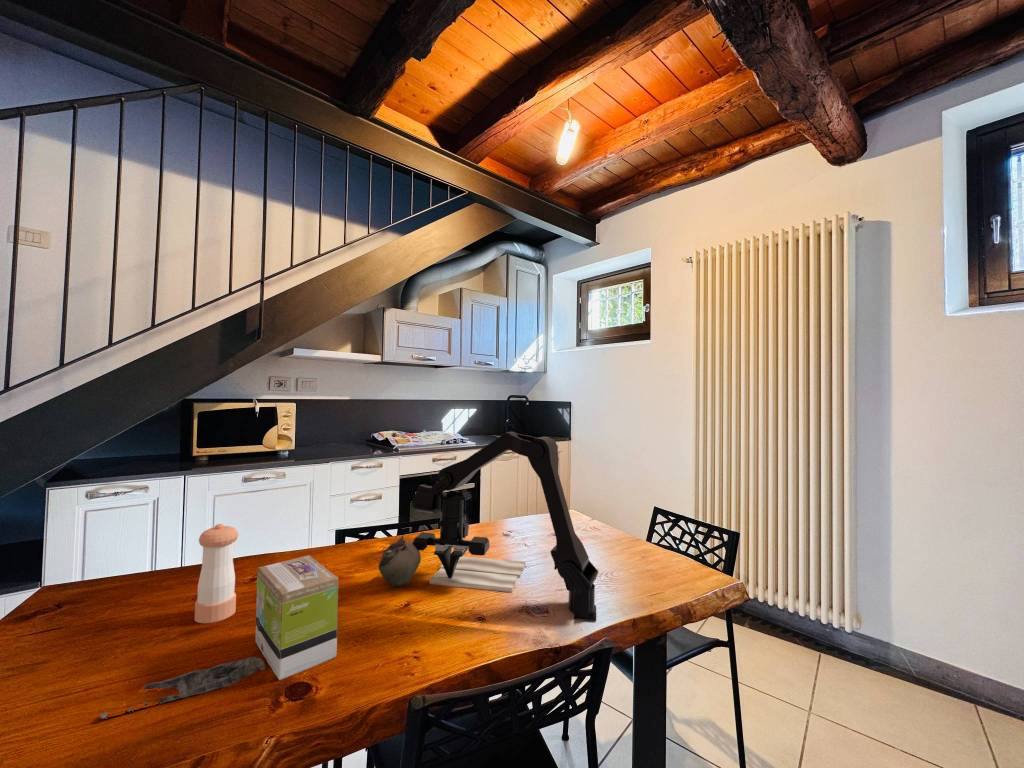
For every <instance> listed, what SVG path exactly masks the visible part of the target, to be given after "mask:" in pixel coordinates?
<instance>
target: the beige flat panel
mask: <svg viewBox="0 0 1024 768" xmlns="http://www.w3.org/2000/svg"><path fill="white" fill-rule="evenodd" d="M525 566H526V561H521V560H520V561H519V560H509V559H508V560H507V559H499V558H498V559H496V558H485V557H474V556H473V557H472V556H464V555H463V556H462V557H460V558H459V560H458V563H457V566H456V569H455V570H463V571H474V572H484V573H495V574H505V575H515V576H518V578H522V577H521V576H522V575H523V571H524V568H525ZM440 568H442V569H444V567H443V564H442V563H441V565H440V566H439V569H440Z"/></svg>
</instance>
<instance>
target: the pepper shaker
mask: <svg viewBox="0 0 1024 768" xmlns="http://www.w3.org/2000/svg"><path fill="white" fill-rule="evenodd" d="M238 536H239V533H238V530H237V529H236V528H235V527H232V526H228V525H224V524H223V523H217V524H216V525H214V526H213V527H211V528H208V529H206V530H204V531H203V532H202V533H201V534H200V536H199V538H198V543H199V545H200V546H201V547H202V559H201V560H202V561H201V570H200V573H199V580H198V584H197V599H196V600H195V603H194V619H193V620H194V622H196V623H199V624H212V623H216V622H221V621H224V620H226V619H227V618H230V617H232V616H233V615H235V613H236V608H237V607H236V606H237V593H236V592H235V587H236V573H235V565H234V543H235V542H236V541H237V540H238Z"/></svg>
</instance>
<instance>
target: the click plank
mask: <svg viewBox="0 0 1024 768" xmlns="http://www.w3.org/2000/svg"><path fill="white" fill-rule="evenodd" d="M518 578H519V577H518V576H515V575H505V574H495V573H484V572H474V571H463V570H455V571H454V574H453V577H452V578H448V576H447V574H446V571H445V569H442V568H440V567H439V569H438V571H436V572H435V574H433V575H432V577H430V579H429V584H430V585H435V586H436V585H437V586H447V587H454V588H455V587H457V588H467V589H476V590H485V591H493V592H494V591H495V592H496V591H497V592H505V593H513V592H514V590H515V587H516V584H517V582H518Z"/></svg>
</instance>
